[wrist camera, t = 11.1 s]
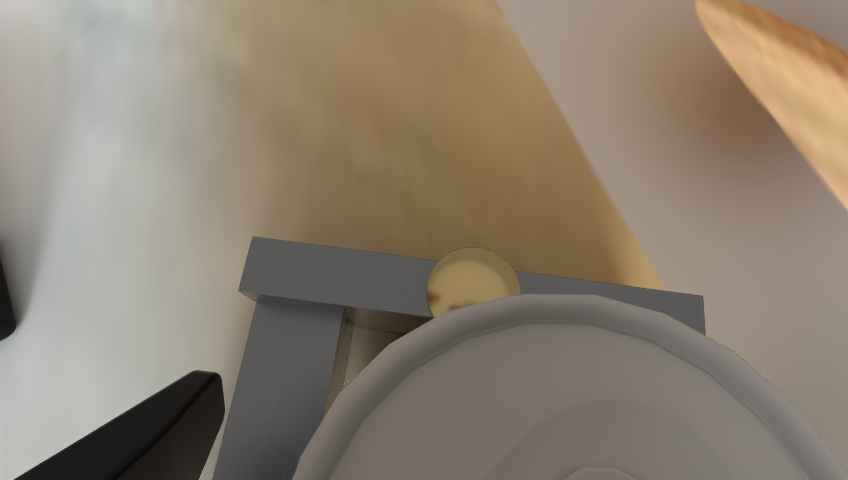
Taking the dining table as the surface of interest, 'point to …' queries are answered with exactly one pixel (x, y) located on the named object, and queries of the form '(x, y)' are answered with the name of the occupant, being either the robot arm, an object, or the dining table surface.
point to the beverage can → (563, 403)
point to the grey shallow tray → (361, 307)
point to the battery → (5, 309)
